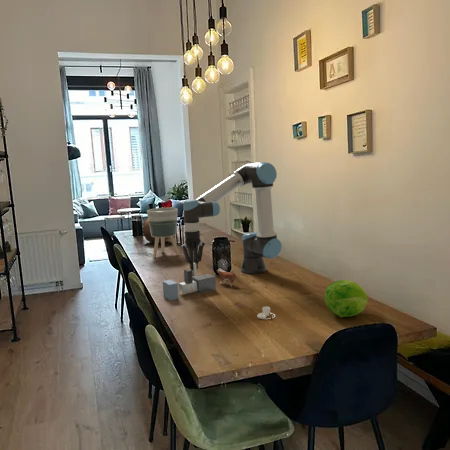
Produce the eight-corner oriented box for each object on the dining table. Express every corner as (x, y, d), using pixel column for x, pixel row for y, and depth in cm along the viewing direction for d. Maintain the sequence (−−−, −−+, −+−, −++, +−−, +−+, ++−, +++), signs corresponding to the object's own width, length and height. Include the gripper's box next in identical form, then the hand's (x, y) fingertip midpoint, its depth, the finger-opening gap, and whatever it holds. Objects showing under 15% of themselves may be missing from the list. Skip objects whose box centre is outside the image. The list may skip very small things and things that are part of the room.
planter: (185, 255, 314) (183, 209, 308) (158, 260, 302) (154, 212, 296) (171, 250, 331) (168, 206, 326) (145, 255, 319) (141, 209, 314)
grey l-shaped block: (208, 285, 234) (207, 265, 232) (212, 287, 230) (211, 266, 228) (179, 291, 225) (178, 270, 224) (183, 293, 221) (181, 272, 220)
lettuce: (376, 321, 185) (383, 287, 182) (338, 326, 177) (344, 290, 174) (350, 305, 200) (356, 274, 197) (314, 309, 192) (319, 276, 188)
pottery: (144, 241, 372) (142, 211, 368) (172, 239, 375) (170, 210, 371) (142, 246, 350) (140, 215, 346) (171, 244, 352) (169, 213, 348)
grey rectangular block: (209, 286, 236) (208, 273, 235) (216, 290, 230) (215, 276, 229) (192, 290, 231) (192, 276, 230) (199, 293, 225) (198, 279, 224)
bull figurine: (220, 281, 246) (219, 267, 244) (237, 285, 236) (237, 270, 235) (214, 282, 243) (213, 268, 241) (231, 287, 233) (231, 272, 232)
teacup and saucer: (260, 321, 185) (260, 312, 185) (252, 315, 192) (252, 306, 192) (278, 318, 189) (278, 308, 188) (269, 312, 196) (269, 303, 195)
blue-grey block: (171, 294, 225) (170, 279, 224) (178, 298, 218) (177, 283, 217) (163, 296, 223) (162, 281, 222) (170, 300, 216) (169, 284, 215)
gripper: (200, 228, 229) (202, 271, 233) (177, 231, 222) (179, 276, 226) (207, 229, 223) (209, 274, 226) (183, 233, 216) (186, 279, 220)
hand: (194, 275), depth 226 cm, fingers closed
